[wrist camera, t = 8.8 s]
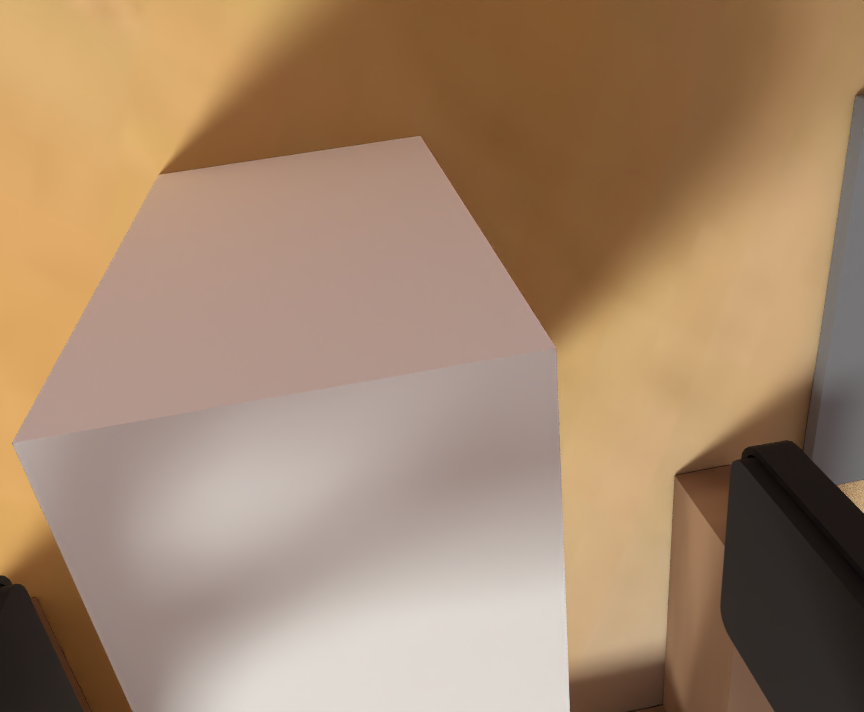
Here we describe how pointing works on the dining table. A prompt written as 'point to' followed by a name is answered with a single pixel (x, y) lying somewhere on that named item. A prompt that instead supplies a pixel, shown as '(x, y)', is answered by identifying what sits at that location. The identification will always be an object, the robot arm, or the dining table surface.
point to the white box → (311, 449)
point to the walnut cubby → (671, 609)
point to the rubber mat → (843, 333)
